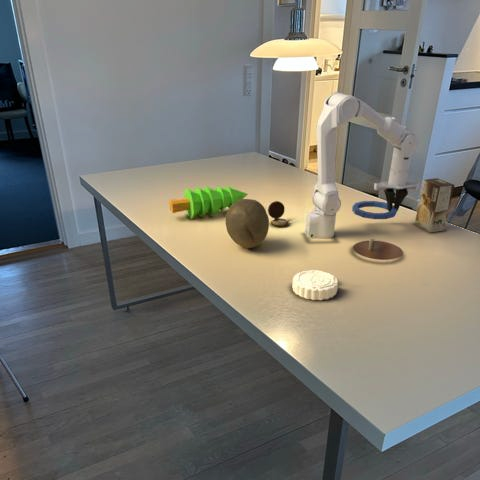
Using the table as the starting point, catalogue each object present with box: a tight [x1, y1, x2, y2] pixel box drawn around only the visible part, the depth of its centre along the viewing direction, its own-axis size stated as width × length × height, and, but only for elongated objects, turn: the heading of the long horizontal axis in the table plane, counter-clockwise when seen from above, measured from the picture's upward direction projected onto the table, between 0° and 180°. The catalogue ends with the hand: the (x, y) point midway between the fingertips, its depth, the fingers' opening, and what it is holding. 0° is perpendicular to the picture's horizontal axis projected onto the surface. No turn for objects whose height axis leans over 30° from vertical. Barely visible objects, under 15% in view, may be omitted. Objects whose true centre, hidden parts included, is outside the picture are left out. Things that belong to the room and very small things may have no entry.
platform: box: [352, 238, 404, 261], centre depth 152 cm, size 15×15×4 cm
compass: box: [267, 200, 294, 228], centre depth 173 cm, size 8×8×7 cm
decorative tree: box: [168, 185, 249, 220], centre depth 179 cm, size 11×12×30 cm
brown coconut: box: [225, 198, 270, 249], centre depth 153 cm, size 14×14×15 cm
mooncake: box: [291, 269, 339, 301], centre depth 130 cm, size 12×12×4 cm
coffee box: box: [414, 177, 455, 233], centre depth 169 cm, size 9×6×16 cm
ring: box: [351, 200, 398, 220], centre depth 165 cm, size 14×14×2 cm
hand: (392, 210), depth 165 cm, fingers closed on ring, 1 cm apart
